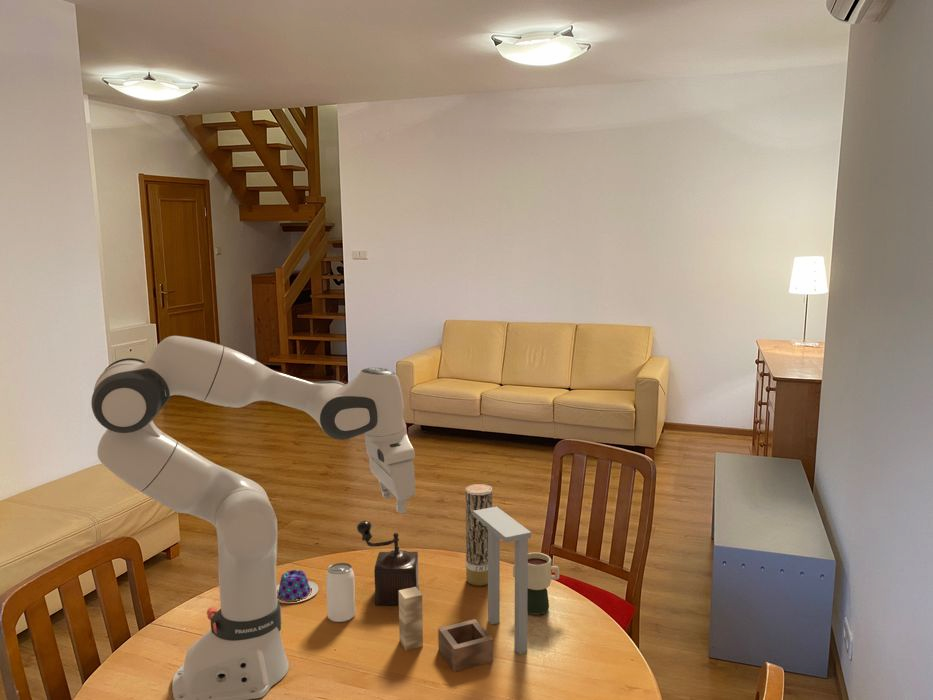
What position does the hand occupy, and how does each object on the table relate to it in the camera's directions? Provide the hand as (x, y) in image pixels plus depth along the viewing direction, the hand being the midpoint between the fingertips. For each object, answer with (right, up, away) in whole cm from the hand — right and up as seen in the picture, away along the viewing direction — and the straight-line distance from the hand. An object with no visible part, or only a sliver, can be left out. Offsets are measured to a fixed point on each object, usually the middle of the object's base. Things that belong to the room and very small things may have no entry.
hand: (394, 504), depth 150 cm
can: (-14, -30, +16) cm, 37 cm away
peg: (+3, -31, +4) cm, 32 cm away
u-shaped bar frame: (+23, -31, +6) cm, 39 cm away
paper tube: (+19, -27, +33) cm, 46 cm away
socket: (+15, -32, -1) cm, 35 cm away
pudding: (-28, -29, +27) cm, 48 cm away
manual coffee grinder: (-4, -28, +26) cm, 39 cm away
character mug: (+32, -29, +18) cm, 47 cm away
